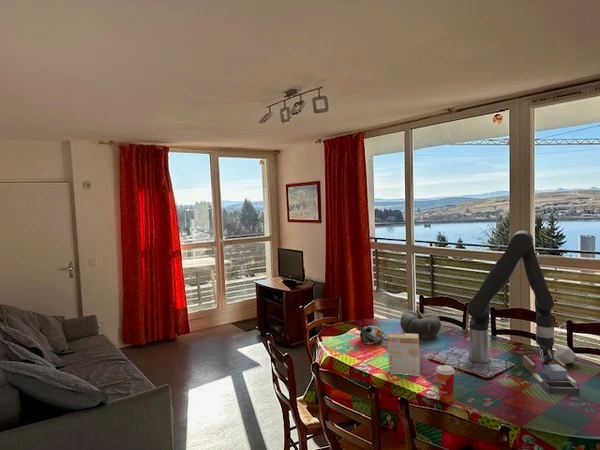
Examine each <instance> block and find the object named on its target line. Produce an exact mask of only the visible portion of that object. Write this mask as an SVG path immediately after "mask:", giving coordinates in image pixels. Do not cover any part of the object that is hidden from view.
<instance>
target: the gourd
mask: <svg viewBox="0 0 600 450" xmlns="http://www.w3.org/2000/svg"><path fill="white" fill-rule="evenodd" d="M399 324H400V327H401V329H402V331H403V333H408V334H419V340H420V339H421V340H429V339H432V338H434V337H435V336H437V335H438V334H439V332H440V330H441V327H442V322H441V319H440V317H439V316H438V315H437V314H436V313H434V312H433V313H432V312H428V313H421V312H419V309H417V310H406V311H405V312H404V313H402V315H401V316H400V320H399Z"/></svg>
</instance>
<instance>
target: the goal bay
mask: <svg viewBox="0 0 600 450" xmlns="http://www.w3.org/2000/svg"><path fill="white" fill-rule="evenodd" d="M532 376H533V377H534V379H536V380H537V381H538V382H539V383H540V384H542V381H544V380H543V379H542V377H541V376H540V375H538V374H537V372H536V373H533V375H532ZM566 381H571V382H572V383H573V384H574V385H577V381H576V380H574V378H572V377H571V376H570V375H569V374H567V380H566Z"/></svg>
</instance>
